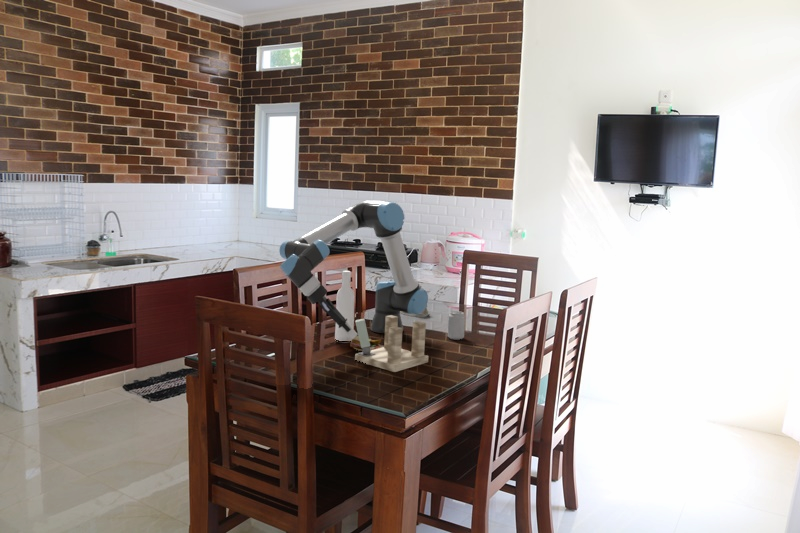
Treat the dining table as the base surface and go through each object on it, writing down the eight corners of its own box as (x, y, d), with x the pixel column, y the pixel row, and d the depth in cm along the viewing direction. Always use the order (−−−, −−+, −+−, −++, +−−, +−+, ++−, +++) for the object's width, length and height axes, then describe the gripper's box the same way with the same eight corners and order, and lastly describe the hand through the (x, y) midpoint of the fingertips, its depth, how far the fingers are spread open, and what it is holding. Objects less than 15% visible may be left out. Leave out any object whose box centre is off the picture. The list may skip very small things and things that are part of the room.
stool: (354, 360, 245) (356, 320, 243) (389, 351, 261) (391, 314, 259) (394, 372, 233) (396, 330, 231) (428, 362, 248) (430, 322, 246)
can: (463, 340, 285) (464, 314, 283) (446, 339, 286) (447, 312, 285) (464, 337, 292) (466, 311, 291) (448, 335, 294) (449, 309, 292)
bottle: (330, 339, 276) (333, 270, 272) (344, 337, 281) (347, 269, 277) (343, 343, 270) (346, 273, 266) (357, 340, 276) (359, 271, 272)
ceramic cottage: (399, 309, 348) (401, 282, 346) (429, 312, 347) (431, 285, 344) (395, 317, 333) (397, 289, 330) (427, 320, 331) (429, 292, 329)
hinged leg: (363, 355, 244) (355, 322, 242) (362, 353, 247) (355, 320, 245) (372, 353, 244) (364, 320, 242) (371, 351, 247) (364, 318, 245)
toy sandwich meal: (375, 355, 255) (376, 343, 255) (345, 350, 260) (345, 339, 260) (388, 348, 267) (388, 337, 266) (359, 344, 272) (359, 333, 271)
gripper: (307, 294, 247) (347, 339, 250) (304, 299, 234) (347, 347, 237) (322, 281, 247) (362, 326, 250) (320, 286, 234) (362, 334, 237)
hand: (354, 336), depth 244 cm, fingers closed
